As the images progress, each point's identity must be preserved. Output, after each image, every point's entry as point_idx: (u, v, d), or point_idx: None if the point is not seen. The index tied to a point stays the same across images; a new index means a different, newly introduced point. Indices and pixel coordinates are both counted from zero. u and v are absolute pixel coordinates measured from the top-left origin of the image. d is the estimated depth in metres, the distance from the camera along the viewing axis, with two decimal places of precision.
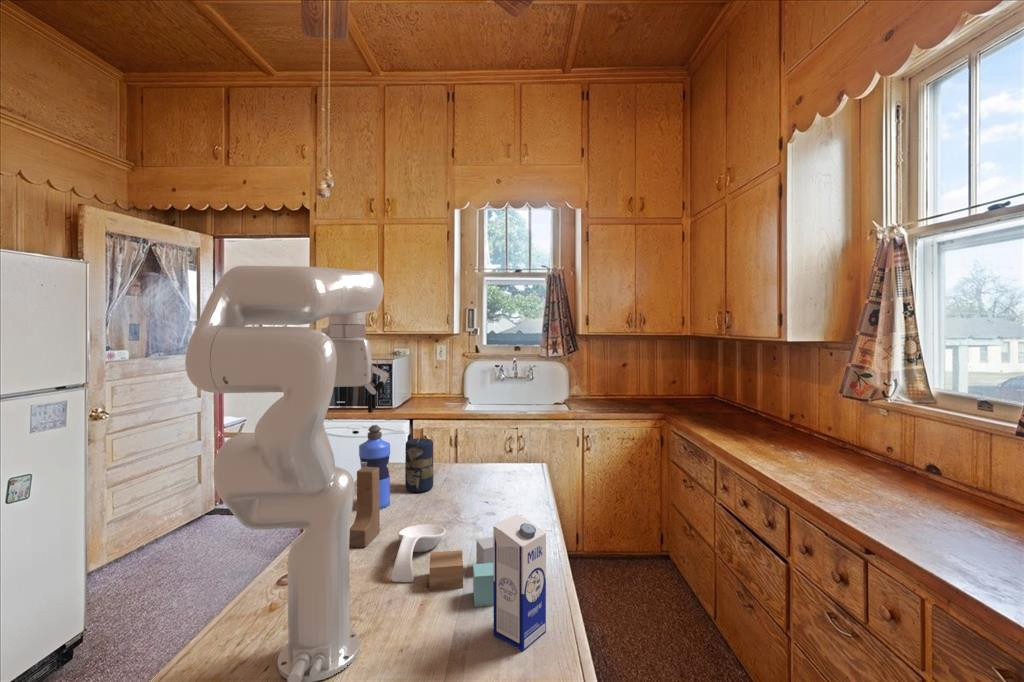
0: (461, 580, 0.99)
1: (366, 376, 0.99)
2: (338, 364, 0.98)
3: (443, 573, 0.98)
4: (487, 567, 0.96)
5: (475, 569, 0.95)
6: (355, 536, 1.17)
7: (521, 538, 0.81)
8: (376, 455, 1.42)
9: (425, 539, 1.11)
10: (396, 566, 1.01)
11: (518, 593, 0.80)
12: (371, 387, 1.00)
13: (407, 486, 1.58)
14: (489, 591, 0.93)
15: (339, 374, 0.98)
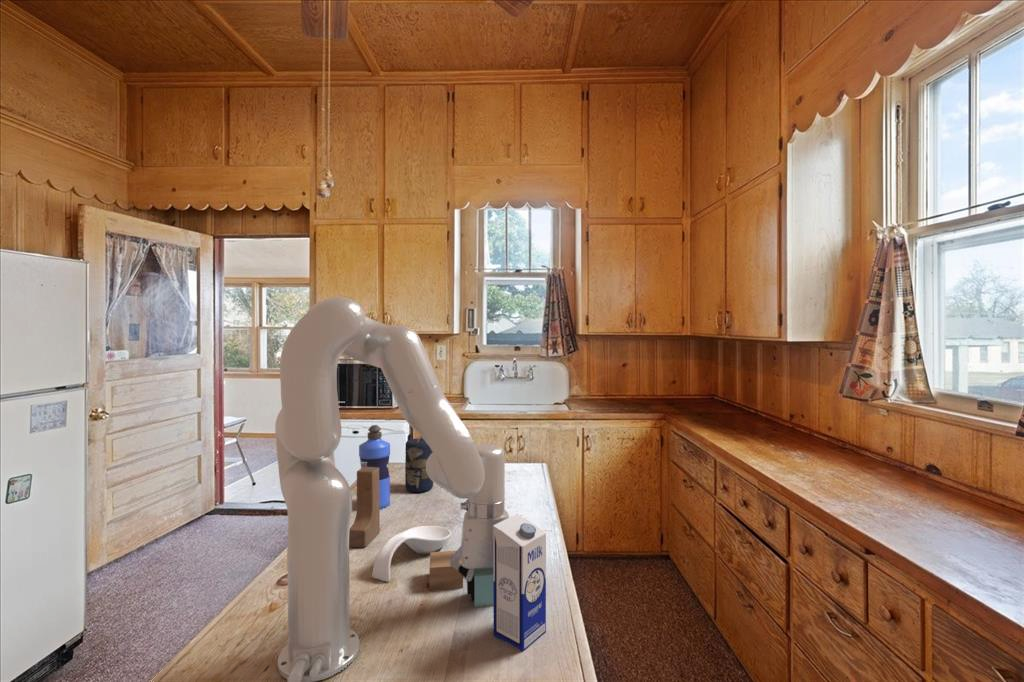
0: (461, 580, 0.99)
1: None
2: (480, 545, 0.92)
3: (443, 573, 0.98)
4: None
5: (475, 569, 0.95)
6: (355, 536, 1.17)
7: (521, 538, 0.81)
8: (376, 455, 1.42)
9: (418, 541, 1.10)
10: (376, 563, 1.03)
11: (518, 593, 0.80)
12: None
13: (407, 486, 1.58)
14: (489, 591, 0.93)
15: (482, 556, 0.92)
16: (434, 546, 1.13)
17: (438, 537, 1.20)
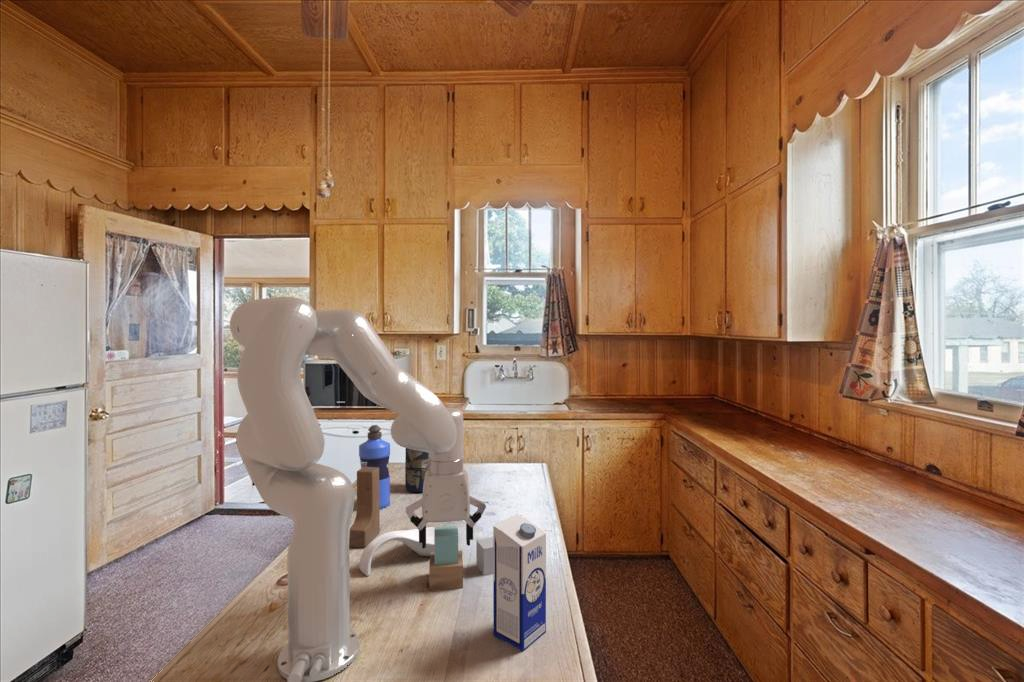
0: (461, 580, 0.99)
1: (466, 511, 0.99)
2: (440, 500, 0.99)
3: (443, 573, 0.98)
4: (447, 529, 1.02)
5: (436, 531, 1.01)
6: (355, 536, 1.17)
7: (521, 538, 0.81)
8: (376, 455, 1.42)
9: (409, 542, 1.09)
10: (362, 555, 1.06)
11: (518, 593, 0.80)
12: (470, 520, 1.01)
13: (407, 486, 1.58)
14: (448, 551, 0.99)
15: (441, 510, 0.99)
16: (428, 550, 1.11)
17: None
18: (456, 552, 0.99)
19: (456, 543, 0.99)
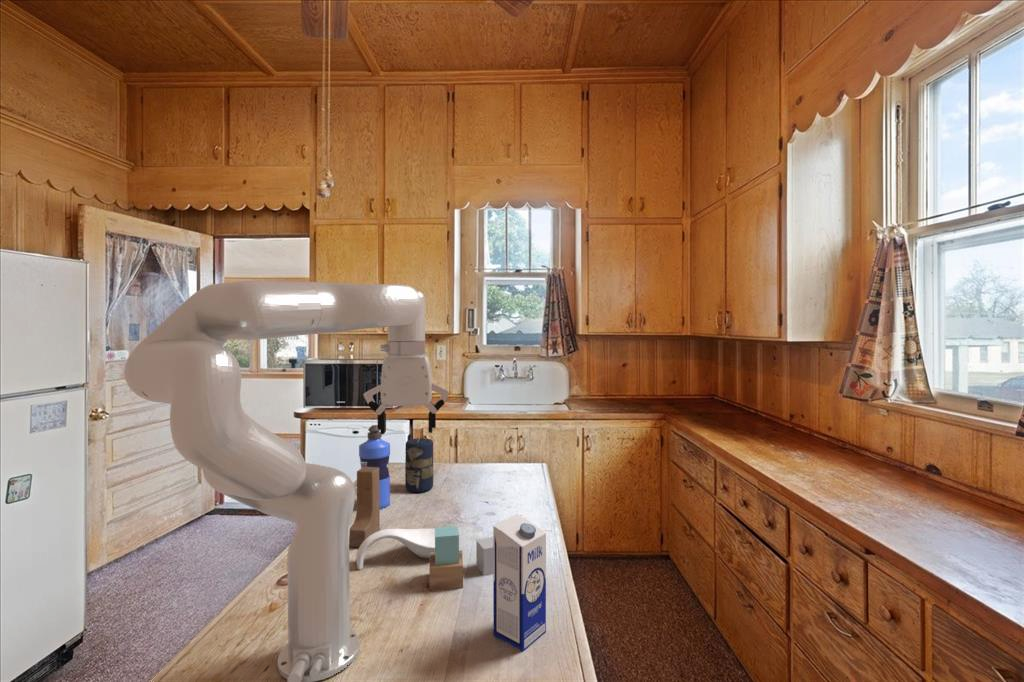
0: (461, 580, 0.99)
1: (427, 395, 0.95)
2: (399, 382, 0.94)
3: (443, 573, 0.98)
4: (448, 529, 1.02)
5: (436, 531, 1.01)
6: (355, 536, 1.17)
7: (521, 538, 0.81)
8: (376, 455, 1.42)
9: (404, 541, 1.10)
10: (358, 549, 1.10)
11: (518, 593, 0.80)
12: (432, 406, 0.96)
13: (407, 486, 1.58)
14: (449, 551, 0.99)
15: (400, 393, 0.94)
16: (422, 552, 1.10)
17: None
18: (457, 552, 1.00)
19: (457, 543, 1.00)
